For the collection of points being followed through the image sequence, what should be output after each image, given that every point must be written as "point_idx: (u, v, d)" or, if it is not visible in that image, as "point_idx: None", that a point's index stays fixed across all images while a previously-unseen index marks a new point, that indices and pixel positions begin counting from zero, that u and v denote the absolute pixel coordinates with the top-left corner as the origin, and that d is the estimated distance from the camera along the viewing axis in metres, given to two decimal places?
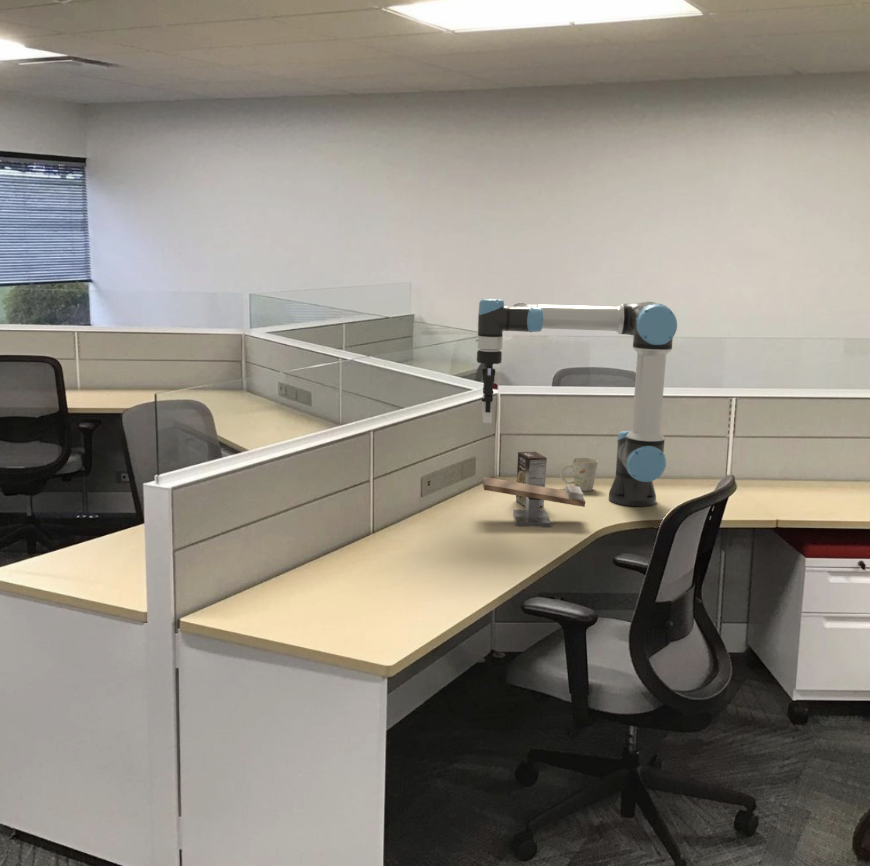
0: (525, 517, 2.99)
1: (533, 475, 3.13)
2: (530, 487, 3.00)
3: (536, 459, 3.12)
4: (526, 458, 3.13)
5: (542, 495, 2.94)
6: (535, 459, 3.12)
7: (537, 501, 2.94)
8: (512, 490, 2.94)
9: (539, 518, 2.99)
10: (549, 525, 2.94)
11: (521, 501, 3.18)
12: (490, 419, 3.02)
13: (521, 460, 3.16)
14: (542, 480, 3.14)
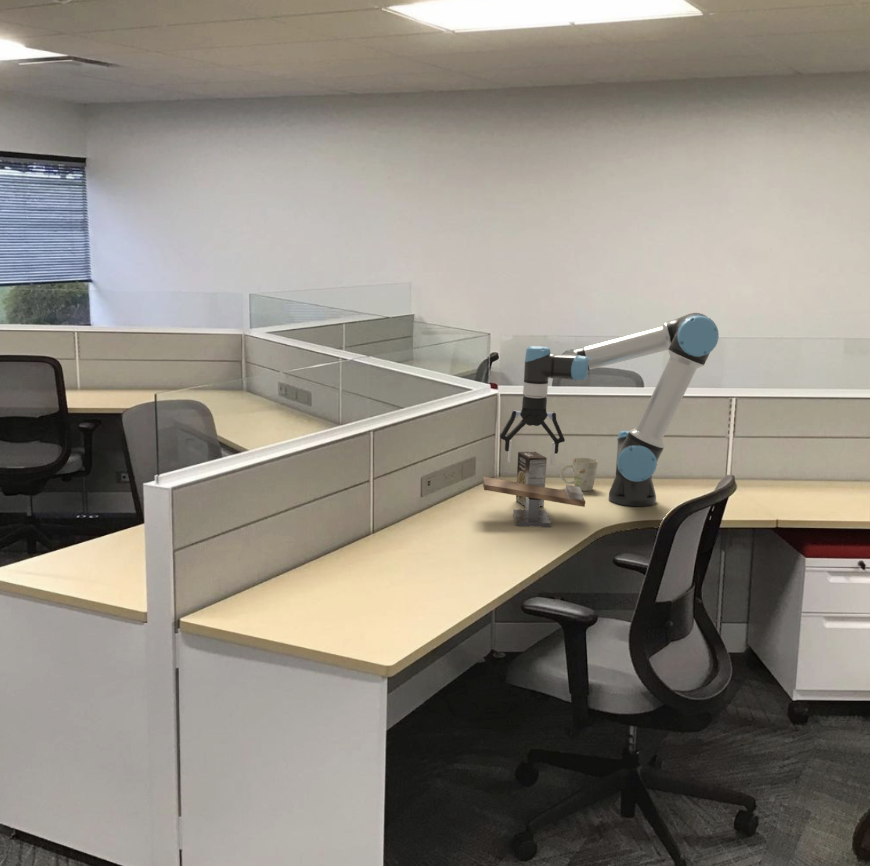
0: (525, 517, 2.99)
1: (533, 475, 3.13)
2: (530, 487, 3.00)
3: (536, 459, 3.12)
4: (526, 458, 3.13)
5: (542, 495, 2.94)
6: (535, 459, 3.12)
7: (537, 501, 2.94)
8: (512, 490, 2.94)
9: (539, 518, 2.99)
10: (549, 525, 2.94)
11: (521, 501, 3.18)
12: (508, 458, 3.16)
13: (521, 460, 3.16)
14: (542, 480, 3.14)
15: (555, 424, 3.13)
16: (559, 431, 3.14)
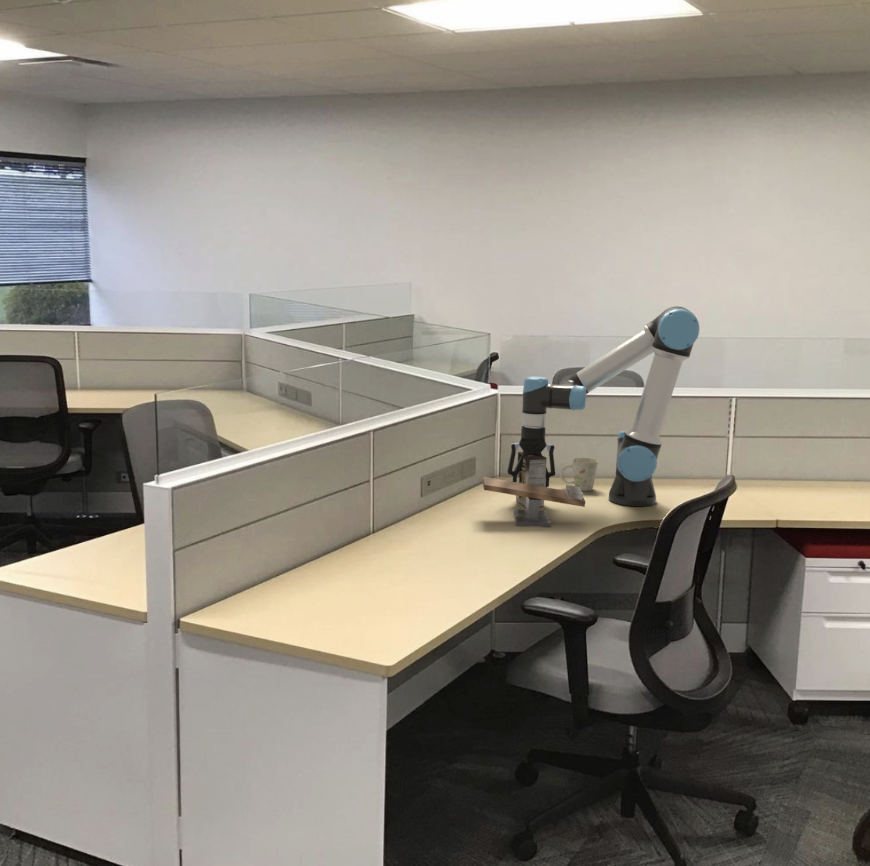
0: (525, 517, 2.99)
1: (533, 474, 3.13)
2: (530, 487, 3.00)
3: (536, 459, 3.12)
4: (526, 458, 3.13)
5: (542, 495, 2.94)
6: (535, 459, 3.12)
7: (537, 501, 2.94)
8: (512, 490, 2.94)
9: (539, 518, 2.99)
10: (549, 525, 2.94)
11: (521, 501, 3.18)
12: None
13: None
14: (542, 480, 3.14)
15: (551, 457, 3.15)
16: (552, 464, 3.16)
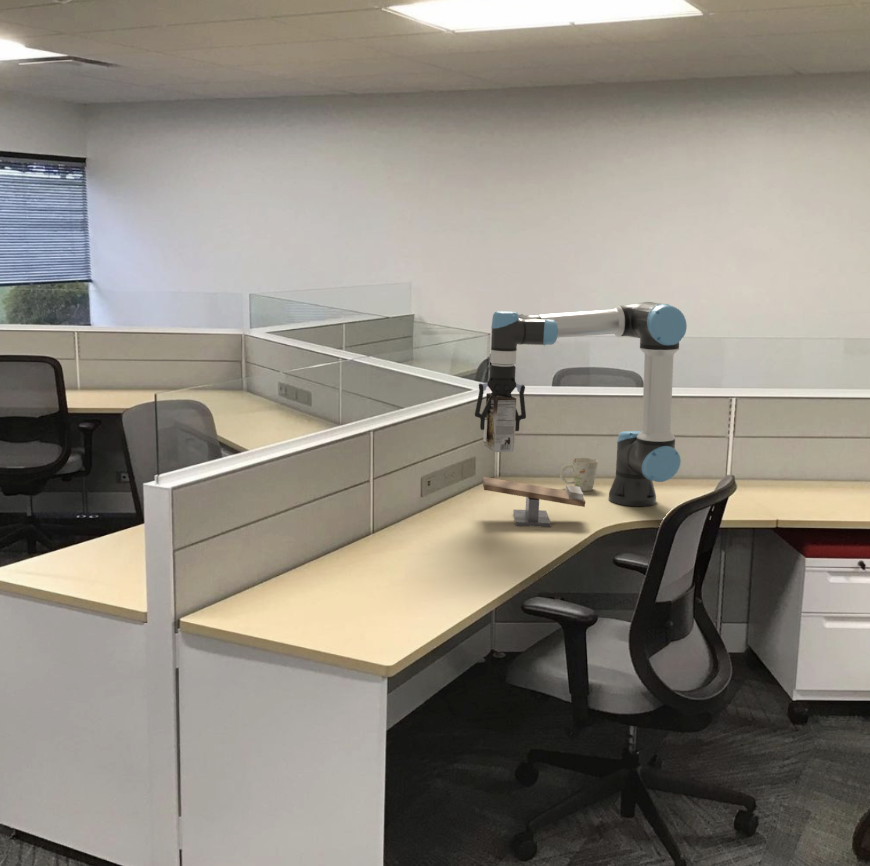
0: (525, 517, 2.99)
1: (502, 416, 2.91)
2: (530, 487, 3.00)
3: (505, 399, 2.90)
4: (494, 398, 2.91)
5: (542, 495, 2.94)
6: (504, 399, 2.90)
7: (537, 501, 2.94)
8: (512, 490, 2.94)
9: (539, 518, 2.99)
10: (549, 525, 2.94)
11: (489, 445, 2.96)
12: None
13: None
14: (511, 423, 2.92)
15: (521, 398, 2.93)
16: (523, 406, 2.94)
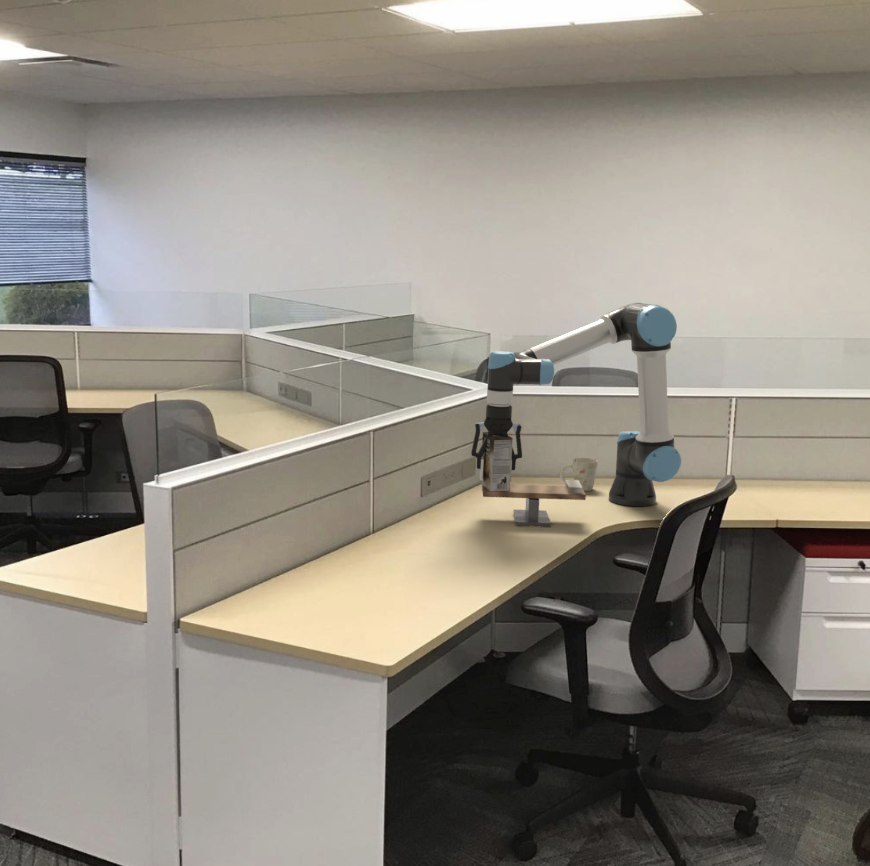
0: (525, 517, 2.99)
1: (498, 456, 2.92)
2: (529, 487, 3.00)
3: (501, 439, 2.92)
4: (490, 438, 2.93)
5: (542, 494, 2.94)
6: (500, 439, 2.92)
7: (537, 501, 2.94)
8: (511, 493, 2.94)
9: (539, 518, 2.99)
10: (549, 525, 2.94)
11: (485, 484, 2.97)
12: (480, 476, 2.97)
13: None
14: (508, 462, 2.94)
15: (517, 437, 2.95)
16: (519, 446, 2.95)
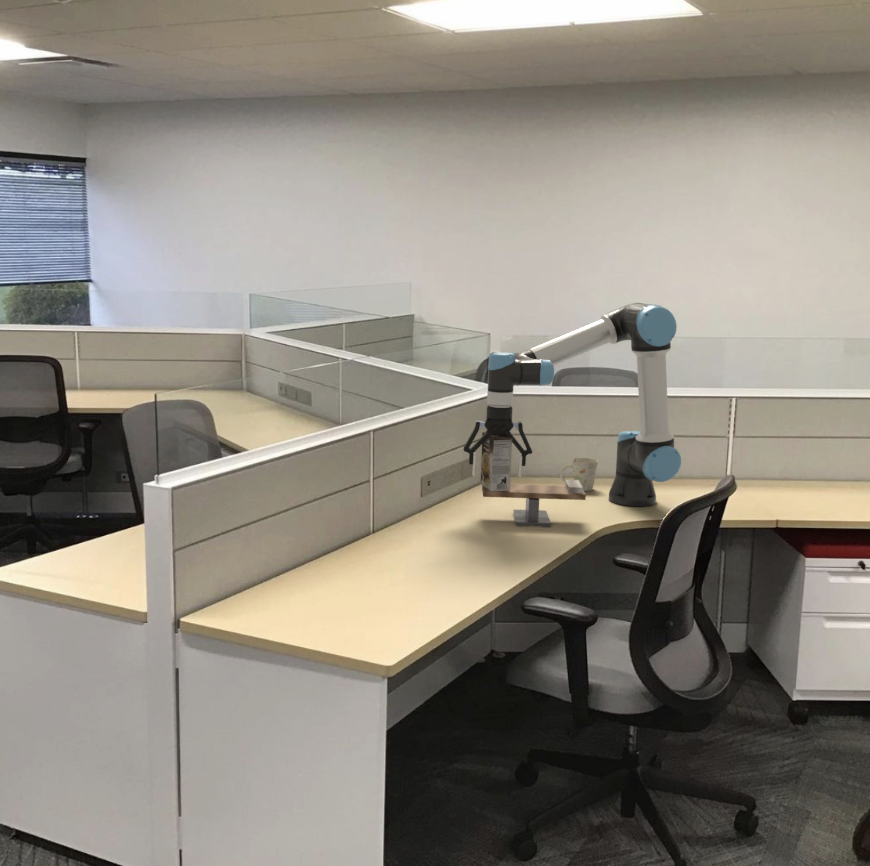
0: (525, 517, 2.99)
1: (498, 456, 2.92)
2: (529, 487, 3.00)
3: (501, 439, 2.92)
4: (490, 438, 2.92)
5: (542, 494, 2.94)
6: (499, 439, 2.92)
7: (537, 501, 2.94)
8: (511, 493, 2.94)
9: (539, 518, 2.99)
10: (549, 525, 2.94)
11: (485, 485, 2.97)
12: (472, 472, 2.97)
13: (485, 440, 2.96)
14: (507, 462, 2.94)
15: (522, 435, 2.95)
16: (526, 442, 2.95)
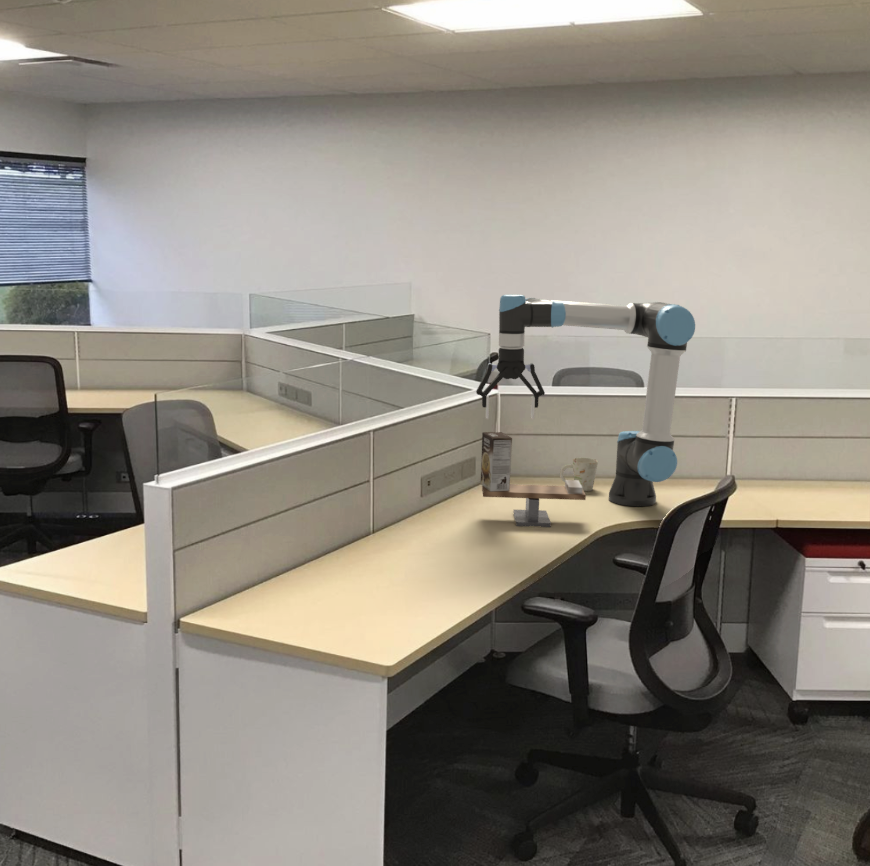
0: (525, 517, 2.99)
1: (498, 456, 2.92)
2: (529, 487, 3.00)
3: (501, 439, 2.92)
4: (490, 438, 2.92)
5: (542, 494, 2.94)
6: (499, 439, 2.92)
7: (537, 501, 2.94)
8: (511, 493, 2.94)
9: (539, 518, 2.99)
10: (549, 525, 2.94)
11: (485, 485, 2.97)
12: (486, 415, 2.99)
13: (485, 440, 2.96)
14: (507, 462, 2.94)
15: (534, 376, 2.96)
16: (538, 383, 2.97)
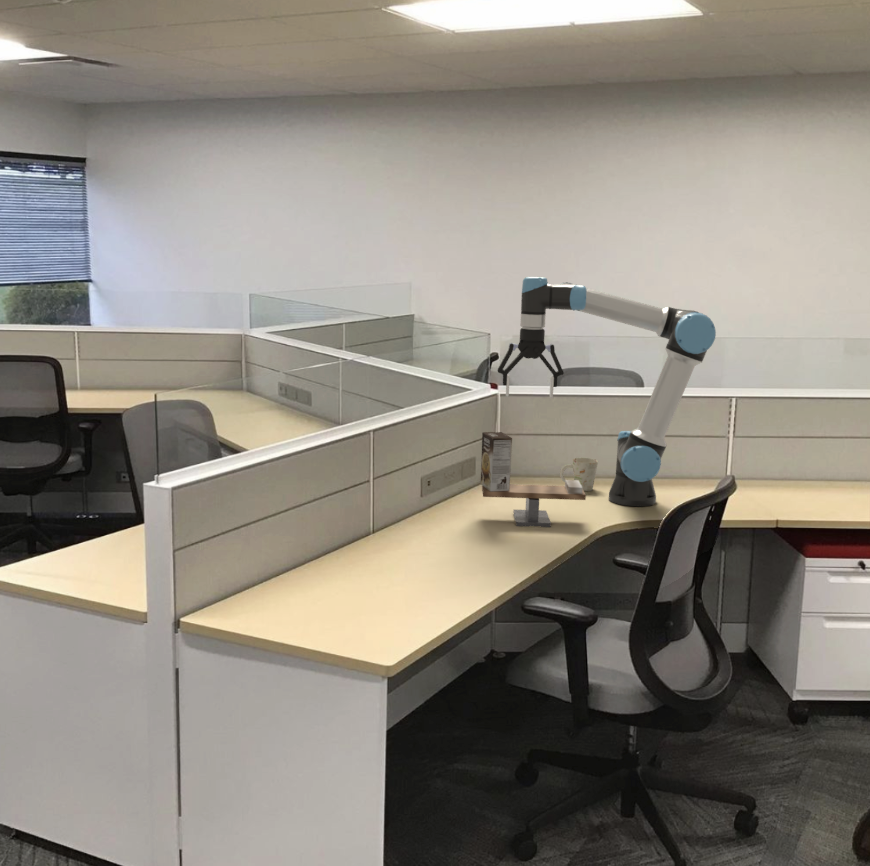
0: (525, 517, 2.99)
1: (498, 456, 2.92)
2: (529, 487, 3.00)
3: (501, 439, 2.92)
4: (490, 438, 2.92)
5: (542, 494, 2.94)
6: (499, 439, 2.92)
7: (537, 501, 2.94)
8: (511, 493, 2.94)
9: (539, 518, 2.99)
10: (549, 525, 2.94)
11: (485, 485, 2.97)
12: (506, 392, 3.10)
13: (485, 440, 2.96)
14: (507, 462, 2.94)
15: (553, 356, 3.07)
16: (558, 364, 3.07)
